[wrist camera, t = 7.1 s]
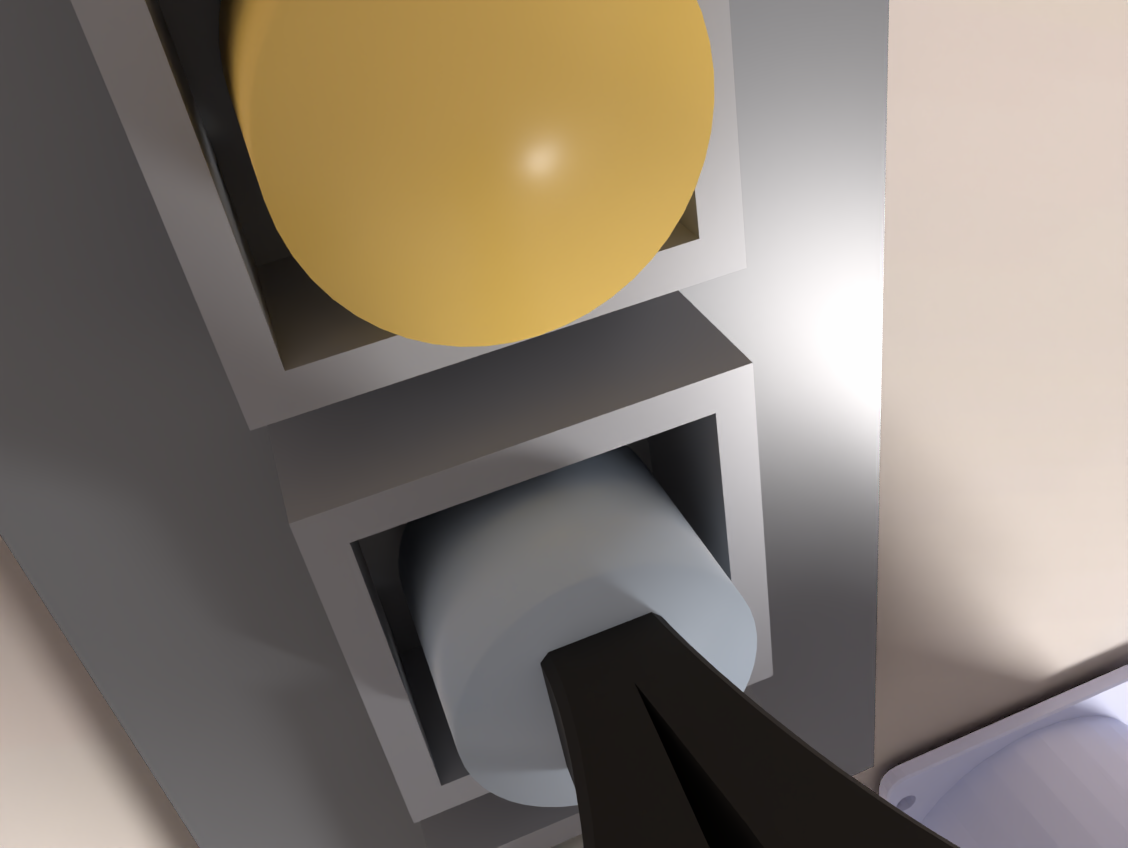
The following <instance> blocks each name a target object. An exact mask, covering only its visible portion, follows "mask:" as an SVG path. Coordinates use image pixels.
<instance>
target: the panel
mask: <svg viewBox="0 0 1128 848" xmlns="http://www.w3.org/2000/svg"><path fill="white" fill-rule="evenodd" d="M697 2H698V4H699V7H700V9H701V11H702V15H703V18H704V22H705V26H706V29H707V33H708V37H709V41H710V46H711V54H712V61H713V68H714V111H713V121H712V130H711V135H710V140H709V144H708V149H707V153H706V158H705V161H704V164H703V167H702V170H701V173H700V176H699V179H698V182H697V185H696V188H695V190H694V192H693V194H692V196H691V198H690V200H689V203H688V205H687V207H686V209H685V211H684V213H683V215H682V216H681V218H680V220H679V221H678V223H677V225H676V226H675V228H674V230H673V231H672V233H671V235H670V236H669V238H668V239H667V240H666V242H665V243H664V244H663V246H662V247H661V248H660V249H659V251H658V252H657V253H656V255H655V256H654V257H653V259H652V260H651V261H650V262H649V263H648V264H647V265H646V266H645V267H644V268H643V269H642V270H641V271H640V272H639V274H638V275H637V276H636V277H635V278H634V279H633V280H632V281H630V282H629V283H628V284H627V285H626V286H625V287H623V288H622V289H621V290H620V291H619V292H618V293H616V294H615V295H614V296H613V297H612V298H610V299H609V300H607V301H606V302H604V303H603V304H601V305H600V306H598V307H597V308H595V309H594V310H592V311H591V312H590V313H588V314H586V315H584V316H582V317H580V318H578V319H576V320H575V321H573V322H571V323H569V324H567V325H565V326H563V327H560V328H557V329H555V330H552V331H550V332H547V333H545V334H542V335H540V336H536V337H532V338H528V339H525V340H521V341H517V342H513V343H506V344H499V345H492V346H476V347H456V346H446V345H436V344H430V343H426V342H421V341H417V340H413V339H408V338H405V337H402V336H399V335H397V334H394V333H391V332H389V331H386V330H383V329H380V328H378V327H377V326H375V325H373V324H371V323H369V322H367V321H365V320H363V319H361V318H360V317H358V316H356V315H354V314H353V313H351V312H350V311H349V310H347V309H346V308H344V307H343V306H342V305H340V304H339V303H337V302H336V301H335V300H333V299H332V298H331V297H330V296H329V295H328V294H327V293H326V292H325V291H323V290H322V289H321V288H320V287H319V286H318V285H317V284H316V283H315V282H314V281H313V280H312V279H311V278H310V277H309V276H308V274H307V273H306V272H305V271H304V269H303V268H302V267H301V266H300V265H299V263H298V262H297V261H296V260H295V258H294V257H293V256H292V254H291V253H290V251H289V249H288V248H287V246H286V244H285V243H284V241H283V239H282V238H281V236H280V234H279V233H278V231H277V229H276V227H275V225H274V222H273V220H272V218H271V215H270V213H269V211H268V208H267V206H266V204H265V201H264V198H263V195H262V192H261V189H260V186H259V183H258V180H257V177H256V174H255V171H254V168H253V165H252V162H251V159H250V156H249V153H248V150H247V147H246V144H245V141H244V138H243V135H242V132H241V129H240V126H239V123H238V120H237V117H236V114H235V111H234V108H233V105H232V102H231V99H230V95H229V92H228V88H227V84H226V81H225V77H224V74H223V69H222V62H221V55H220V48H219V13H220V4H221V0H0V535H1V537H2V538H3V540H4V541H5V543H6V544H7V546H8V548H9V549H10V551H11V552H12V554H13V555H14V557H15V559H16V560H17V562H18V563H19V565H20V566H21V568H22V570H23V571H24V573H25V574H26V576H27V577H28V579H29V581H30V582H31V584H32V585H33V587H34V588H35V590H36V592H37V593H38V595H39V596H40V598H41V599H42V601H43V603H44V604H45V606H46V607H47V609H48V610H49V612H50V614H51V615H52V617H53V618H54V620H55V621H56V623H57V625H58V626H59V628H60V629H61V631H62V632H63V634H64V636H65V637H66V639H67V640H68V642H69V643H70V645H71V647H72V648H73V650H74V651H75V653H76V654H77V656H78V658H79V659H80V661H81V662H82V664H83V665H84V667H85V669H86V670H87V672H88V673H89V675H90V676H91V678H92V680H93V681H94V683H95V684H96V686H97V687H98V689H99V691H100V692H101V694H102V695H103V697H104V698H105V700H106V702H107V703H108V705H109V706H110V708H111V710H112V711H113V713H114V714H115V716H116V717H117V719H118V721H119V722H120V724H121V725H122V727H123V728H124V730H125V732H126V733H127V735H128V736H129V738H130V739H131V741H132V743H133V744H134V746H135V747H136V749H137V750H138V752H139V754H140V755H141V757H142V758H143V760H144V761H145V763H146V765H147V766H148V768H149V769H150V771H151V772H152V774H153V776H154V777H155V779H156V780H157V782H158V783H159V785H160V787H161V788H162V790H163V791H164V793H165V794H166V796H167V798H168V799H169V801H170V802H171V804H172V805H173V807H174V809H175V810H176V812H177V813H178V815H179V816H180V818H181V820H182V821H183V823H184V824H185V826H186V827H187V829H188V831H189V832H190V834H191V835H192V837H193V838H194V840H195V842H196V843H197V845H198V846H199V848H550V847H552V846H555V845H557V844H559V843H562V842H564V841H567V840H569V839H571V838H574V837H576V836H578V835H581V834H582V830H581V822H580V816H579V809H578V805H574V806H564V807H538V806H530V805H524V804H519V803H515V802H511V801H508V800H506V799H504V798H501V797H499V796H496V795H495V794H493V793H491V792H490V791H488V790H486V789H485V788H483V787H482V786H481V785H480V784H479V783H478V782H477V781H475V780H474V779H473V778H472V776H471V775H470V774H469V772H468V771H467V770H466V768H465V767H464V765H463V762H462V760H461V758H460V756H459V754H458V751H457V748H456V745H455V742H454V739H453V736H452V733H451V730H450V727H449V724H448V721H447V719H446V716H445V713H444V710H443V707H442V704H441V701H440V698H439V695H438V692H437V689H436V686H435V683H434V680H433V678H432V675H431V672H430V669H429V666H428V663H427V660H426V657H425V654H424V651H423V648H422V645H421V642H420V640H419V637H418V634H417V631H416V628H415V625H414V622H413V619H412V616H411V613H410V610H409V607H408V604H407V601H406V599H405V596H404V593H403V590H402V586H401V582H400V578H399V567H398V558H399V547H400V543H401V539H402V535H403V532H404V529H405V527H406V524H407V522H410V521H413V520H416V519H419V518H421V517H424V516H427V515H430V514H433V513H436V512H438V511H441V510H444V509H447V508H450V507H452V506H455V505H458V504H461V503H464V502H467V501H469V500H472V499H475V498H478V497H481V496H483V495H486V494H489V493H492V492H495V491H498V490H500V489H503V488H506V487H509V486H512V485H514V484H517V483H520V482H523V481H526V480H529V479H531V478H534V477H537V476H540V475H543V474H545V473H548V472H551V471H554V470H557V469H559V468H562V467H565V466H568V465H571V464H574V463H576V462H579V461H582V460H585V459H588V458H590V457H593V456H596V455H599V454H602V453H605V452H607V451H610V450H613V449H616V448H619V447H621V446H624V445H627V446H628V447H629V448H631V449H632V450H633V451H634V452H635V453H636V454H637V455H638V456H639V457H640V458H641V460H642V461H643V462H644V463H645V465H646V466H647V468H648V469H649V470H650V472H651V473H652V474H653V476H654V477H655V478H656V480H657V481H658V482H659V484H660V485H661V487H662V488H663V489H664V491H665V492H666V493H667V495H668V496H669V497H670V499H671V500H672V502H673V503H674V504H675V506H676V507H677V508H678V510H679V511H680V512H681V514H682V515H683V516H684V518H685V519H686V521H687V522H688V523H689V525H690V526H691V527H692V529H693V530H694V531H695V533H696V534H697V535H698V537H699V538H700V540H701V541H702V542H703V544H704V545H705V546H706V548H707V549H708V550H709V552H710V553H711V555H712V556H713V557H714V559H715V560H716V561H717V563H718V564H719V565H720V567H721V568H722V569H723V571H724V572H725V574H726V575H727V576H728V578H729V579H730V580H731V582H732V583H733V584H734V586H735V587H736V589H737V590H738V591H739V593H740V594H741V595H742V597H743V598H744V600H745V601H746V603H747V605H748V606H749V608H750V610H751V613H752V615H753V618H754V621H755V626H756V632H757V651H756V657H755V663H754V667H753V670H752V673H751V676H750V679H749V681H748V684H747V686H746V688H745V690H744V693H745V694H746V695H747V696H748V697H750V698H751V699H752V700H753V701H754V702H756V703H757V704H758V705H759V706H760V707H762V708H763V709H764V710H765V711H767V712H768V713H769V714H770V715H772V716H773V717H774V718H775V719H777V720H778V721H779V722H781V723H782V724H783V725H784V726H786V727H787V728H788V729H789V730H791V731H792V732H793V733H794V734H796V735H797V736H798V737H800V738H801V739H802V740H803V741H805V742H806V743H807V744H808V745H810V746H811V747H812V748H814V749H815V750H816V751H818V752H819V753H820V754H822V755H823V756H824V757H826V758H827V759H828V760H830V761H831V762H832V763H834V764H835V765H837V766H838V767H839V768H841V769H842V770H843V771H845V772H846V773H848V774H849V775H851V776H853V775H855V774H857V773H860V772H862V771H864V770H867V769H869V768H871V767H873V766H874V731H875V681H876V630H877V580H878V529H879V478H880V428H881V377H882V327H883V276H884V226H885V175H886V124H887V74H888V23H889V0H697Z"/></svg>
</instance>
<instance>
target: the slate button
mask: <svg viewBox="0 0 1128 848" xmlns="http://www.w3.org/2000/svg"><path fill="white" fill-rule="evenodd" d="M398 567H399V578H400V582H401V586H402V590H403V593H404V596H405V599H406V601H407V604H408V607H409V610H410V613H411V616H412V619H413V622H414V625H415V628H416V631H417V634H418V637H419V640H420V642H421V645H422V648H423V651H424V654H425V657H426V660H427V663H428V666H429V669H430V672H431V675H432V678H433V680H434V683H435V686H436V689H437V692H438V695H439V698H440V701H441V704H442V707H443V710H444V713H445V716H446V719H447V721H448V724H449V727H450V730H451V733H452V736H453V739H454V742H455V745H456V748H457V751H458V754H459V756H460V758H461V760H462V762H463V765H464V767H465V768H466V770H467V771H468V772H469V774H470V775H471V776H472V778H473V779H474V780H475V781H477V782H478V783H479V784H480V785H481V786H482V787H483V788H485V789H486V790H488V791H490V792H491V793H493V794H495V795H496V796H499V797H501V798H504V799H506V800H508V801H511V802H515V803H519V804H524V805H530V806H538V807H564V806H574V805H578V803H577V796H576V789H575V787H574V784H573V781H572V779H571V776H570V773H569V771H568V768H567V765H566V762H565V758H564V754H563V750H562V746H561V742H560V738H559V734H558V731H557V727H556V723H555V719H554V715H553V711H552V707H551V703H550V699H549V696H548V692H547V688H546V684H545V680H544V676H543V672H542V668H541V665H540V663H541V661H542V660H543V659H544V657H545V656H546V655H547V653H548V652H550V651H553V650H555V649H558V648H560V647H563V646H566V645H568V644H571V643H573V642H576V641H578V640H581V639H584V638H586V637H589V636H591V635H594V634H596V633H599V632H602V631H604V630H607V629H609V628H612V627H614V626H617V625H620V624H622V623H625V622H627V621H630V620H632V619H635V618H638V617H640V616H643V615H645V614H648V613H650V612H652V613H655V614H657V615H660V616H662V617H663V618H664V619H665V620H666V621H667V622H668V623H669V624H670V625H671V626H672V627H673V628H674V629H675V630H676V631H677V632H678V633H679V634H680V635H681V636H682V637H683V638H684V639H685V640H686V641H687V642H688V643H689V644H690V645H691V646H692V647H693V648H694V649H695V650H696V651H697V652H699V653H700V654H701V655H702V656H703V657H704V658H705V659H706V660H707V661H708V662H709V663H711V664H712V665H713V666H714V667H715V668H716V669H717V670H718V671H719V672H721V673H722V674H723V675H724V676H725V677H726V678H728V679H729V680H730V681H731V682H732V683H733V684H734V685H736V686H737V687H738V688H739V689H740V690H741V691H742V692H744V690H745V688H746V686H747V684H748V681H749V679H750V676H751V673H752V670H753V667H754V663H755V657H756V651H757V632H756V626H755V621H754V618H753V615H752V613H751V610H750V608H749V606H748V605H747V603H746V601H745V600H744V598H743V597H742V595H741V594H740V593H739V591H738V590H737V589H736V587H735V586H734V584H733V583H732V582H731V580H730V579H729V578H728V576H727V575H726V574H725V572H724V571H723V569H722V568H721V567H720V565H719V564H718V563H717V561H716V560H715V559H714V557H713V556H712V555H711V553H710V552H709V550H708V549H707V548H706V546H705V545H704V544H703V542H702V541H701V540H700V538H699V537H698V535H697V534H696V533H695V531H694V530H693V529H692V527H691V526H690V525H689V523H688V522H687V521H686V519H685V518H684V516H683V515H682V514H681V512H680V511H679V510H678V508H677V507H676V506H675V504H674V503H673V502H672V500H671V499H670V497H669V496H668V495H667V493H666V492H665V491H664V489H663V488H662V487H661V485H660V484H659V482H658V481H657V480H656V478H655V477H654V476H653V474H652V473H651V472H650V470H649V469H648V468H647V466H646V465H645V463H644V462H643V461H642V460H641V458H640V457H639V456H638V455H637V454H636V453H635V452H634V451H633V450H632V449H631V448H629V447H628V446H627V445H624V446H621V447H619V448H616V449H613V450H610V451H607V452H605V453H602V454H599V455H596V456H593V457H590V458H588V459H585V460H582V461H579V462H576V463H574V464H571V465H568V466H565V467H562V468H559V469H557V470H554V471H551V472H548V473H545V474H543V475H540V476H537V477H534V478H531V479H529V480H526V481H523V482H520V483H517V484H514V485H512V486H509V487H506V488H503V489H500V490H498V491H495V492H492V493H489V494H486V495H483V496H481V497H478V498H475V499H472V500H469V501H467V502H464V503H461V504H458V505H455V506H452V507H450V508H447V509H444V510H441V511H438V512H436V513H433V514H430V515H427V516H424V517H421V518H419V519H416V520H413V521H410V522H407V524H406V527H405V529H404V532H403V535H402V539H401V543H400V547H399V558H398Z"/></svg>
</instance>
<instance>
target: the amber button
mask: <svg viewBox="0 0 1128 848" xmlns="http://www.w3.org/2000/svg"><path fill="white" fill-rule="evenodd" d="M219 48H220V55H221V62H222V69H223V74H224V77H225V81H226V84H227V88H228V92H229V95H230V99H231V102H232V105H233V108H234V111H235V114H236V117H237V120H238V123H239V126H240V129H241V132H242V135H243V138H244V141H245V144H246V147H247V150H248V153H249V156H250V159H251V162H252V165H253V168H254V171H255V174H256V177H257V180H258V183H259V186H260V189H261V192H262V195H263V198H264V201H265V204H266V206H267V208H268V211H269V213H270V215H271V218H272V220H273V222H274V225H275V227H276V229H277V231H278V233H279V234H280V236H281V238H282V239H283V241H284V243H285V244H286V246H287V248H288V249H289V251H290V253H291V254H292V256H293V257H294V258H295V260H296V261H297V262H298V263H299V265H300V266H301V267H302V268H303V269H304V271H305V272H306V273H307V274H308V276H309V277H310V278H311V279H312V280H313V281H314V282H315V283H316V284H317V285H318V286H319V287H320V288H321V289H322V290H323V291H325V292H326V293H327V294H328V295H329V296H330V297H331V298H332V299H333V300H335V301H336V302H337V303H339V304H340V305H342V306H343V307H344V308H346V309H347V310H349V311H350V312H351V313H353V314H354V315H356V316H358V317H360V318H361V319H363V320H365V321H367V322H369V323H371V324H373V325H375V326H377V327H378V328H380V329H383V330H386V331H389V332H391V333H394V334H397V335H399V336H402V337H405V338H408V339H413V340H417V341H421V342H426V343H430V344H436V345H446V346H456V347H476V346H492V345H499V344H506V343H513V342H517V341H521V340H525V339H528V338H532V337H536V336H540V335H542V334H545V333H547V332H550V331H552V330H555V329H557V328H560V327H563V326H565V325H567V324H569V323H571V322H573V321H575V320H576V319H578V318H580V317H582V316H584V315H586V314H588V313H590V312H591V311H592V310H594V309H595V308H597V307H598V306H600V305H601V304H603V303H604V302H606V301H607V300H609V299H610V298H612V297H613V296H614V295H615V294H616V293H618V292H619V291H620V290H621V289H622V288H623V287H625V286H626V285H627V284H628V283H629V282H630V281H632V280H633V279H634V278H635V277H636V276H637V275H638V274H639V272H640V271H641V270H642V269H643V268H644V267H645V266H646V265H647V264H648V263H649V262H650V261H651V260H652V259H653V257H654V256H655V255H656V253H657V252H658V251H659V249H660V248H661V247H662V246H663V244H664V243H665V242H666V240H667V239H668V238H669V236H670V235H671V233H672V231H673V230H674V228H675V226H676V225H677V223H678V221H679V220H680V218H681V216H682V215H683V213H684V211H685V209H686V207H687V205H688V203H689V200H690V198H691V196H692V194H693V192H694V190H695V188H696V185H697V182H698V179H699V176H700V173H701V170H702V167H703V164H704V161H705V158H706V153H707V149H708V144H709V140H710V135H711V130H712V121H713V111H714V68H713V61H712V54H711V46H710V41H709V37H708V33H707V29H706V26H705V22H704V18H703V15H702V11H701V9H700V7H699V4H698V2H697V0H221V4H220V13H219Z"/></svg>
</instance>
